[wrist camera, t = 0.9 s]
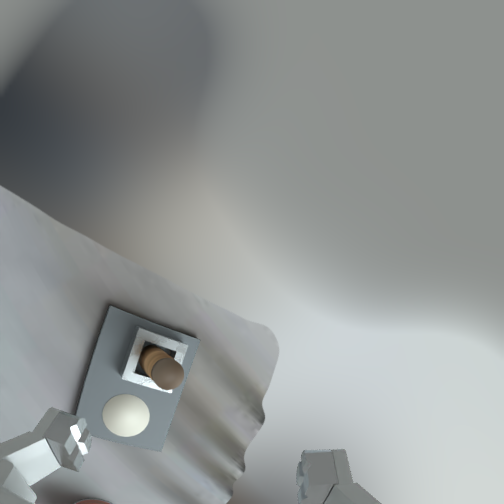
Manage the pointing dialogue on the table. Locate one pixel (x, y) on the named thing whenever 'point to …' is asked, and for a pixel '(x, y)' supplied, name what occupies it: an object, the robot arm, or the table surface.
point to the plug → (161, 367)
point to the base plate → (128, 386)
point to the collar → (135, 350)
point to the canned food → (92, 501)
